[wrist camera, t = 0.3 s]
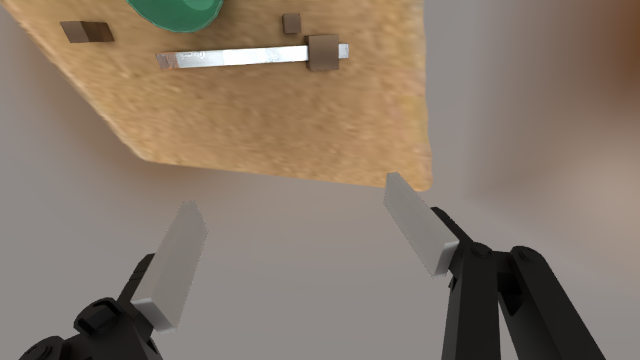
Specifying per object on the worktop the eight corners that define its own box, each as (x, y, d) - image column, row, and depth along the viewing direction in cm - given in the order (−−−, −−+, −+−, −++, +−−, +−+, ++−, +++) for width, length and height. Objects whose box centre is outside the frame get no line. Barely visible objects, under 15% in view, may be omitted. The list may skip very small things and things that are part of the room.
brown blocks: (89, 23, 30) (59, 21, 25) (330, 15, 34) (339, 12, 29) (115, 79, 33) (93, 85, 29) (331, 65, 37) (338, 69, 33)
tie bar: (162, 52, 32) (155, 53, 30) (344, 42, 35) (348, 43, 33) (167, 67, 33) (161, 69, 31) (344, 56, 36) (348, 58, 34)
